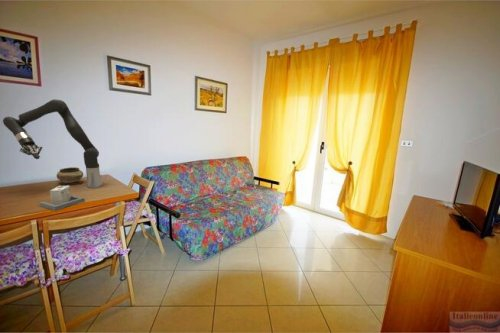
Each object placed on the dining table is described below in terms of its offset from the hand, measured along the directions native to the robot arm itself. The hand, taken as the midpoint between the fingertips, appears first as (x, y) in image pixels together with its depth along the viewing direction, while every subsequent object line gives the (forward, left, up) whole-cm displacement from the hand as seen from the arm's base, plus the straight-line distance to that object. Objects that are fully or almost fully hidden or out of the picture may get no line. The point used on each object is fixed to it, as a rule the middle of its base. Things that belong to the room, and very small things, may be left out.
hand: (38, 158), depth 155 cm
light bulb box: (+3, +26, -28) cm, 39 cm away
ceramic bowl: (-27, -13, -28) cm, 41 cm away
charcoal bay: (+4, +28, -28) cm, 40 cm away
